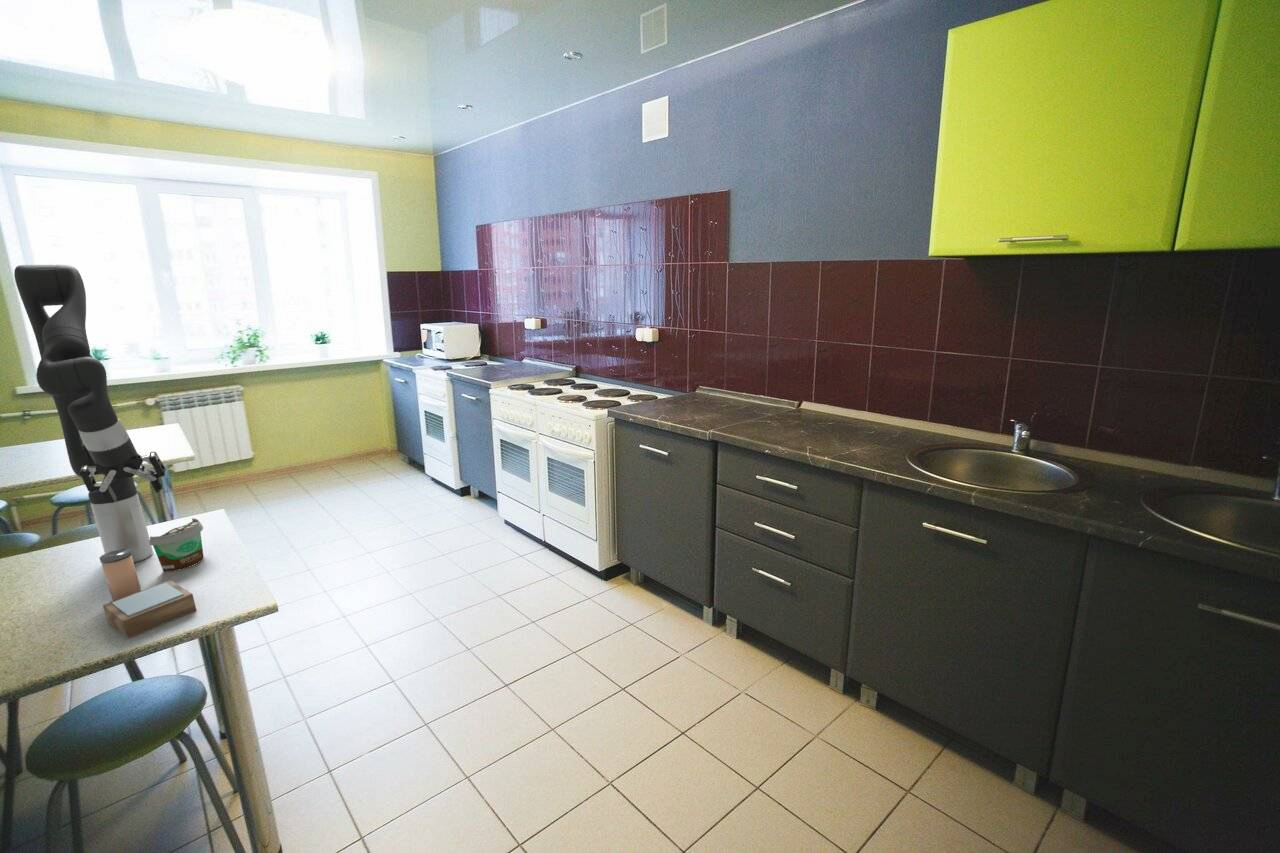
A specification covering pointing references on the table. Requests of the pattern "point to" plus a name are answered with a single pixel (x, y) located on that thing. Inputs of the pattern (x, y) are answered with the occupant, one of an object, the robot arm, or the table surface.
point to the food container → (179, 546)
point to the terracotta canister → (120, 573)
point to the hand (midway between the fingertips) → (136, 495)
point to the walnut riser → (149, 608)
